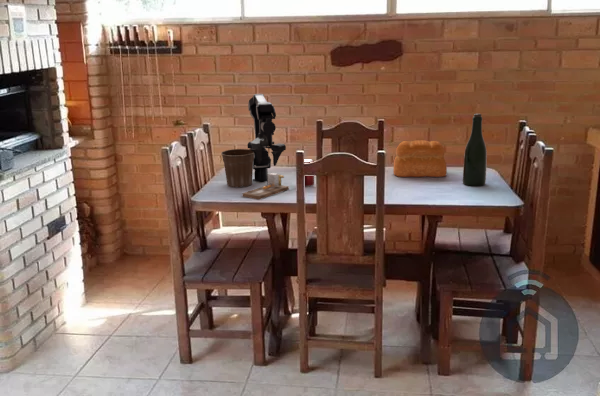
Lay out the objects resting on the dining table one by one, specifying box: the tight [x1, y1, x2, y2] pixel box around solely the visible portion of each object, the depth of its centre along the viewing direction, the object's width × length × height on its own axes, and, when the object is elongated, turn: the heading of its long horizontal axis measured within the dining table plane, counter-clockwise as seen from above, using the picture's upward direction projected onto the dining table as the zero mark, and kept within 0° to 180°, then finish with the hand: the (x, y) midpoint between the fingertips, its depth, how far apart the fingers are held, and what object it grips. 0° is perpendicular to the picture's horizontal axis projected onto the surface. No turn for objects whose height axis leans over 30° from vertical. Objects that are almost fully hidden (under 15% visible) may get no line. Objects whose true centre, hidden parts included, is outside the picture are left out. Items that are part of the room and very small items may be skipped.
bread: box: [392, 139, 448, 178], centre depth 310 cm, size 16×26×17 cm, turn 85°
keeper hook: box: [278, 174, 285, 186], centre depth 289 cm, size 2×4×5 cm, turn 53°
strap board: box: [242, 184, 290, 200], centre depth 282 cm, size 21×10×2 cm, turn 143°
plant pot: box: [220, 148, 254, 188], centre depth 297 cm, size 16×16×16 cm
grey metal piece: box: [262, 172, 279, 189], centre depth 284 cm, size 8×4×6 cm, turn 143°
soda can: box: [304, 158, 315, 188], centre depth 294 cm, size 7×7×12 cm
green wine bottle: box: [462, 113, 488, 187], centre depth 286 cm, size 10×10×33 cm
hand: (267, 164), depth 285 cm, fingers open, 9 cm apart
